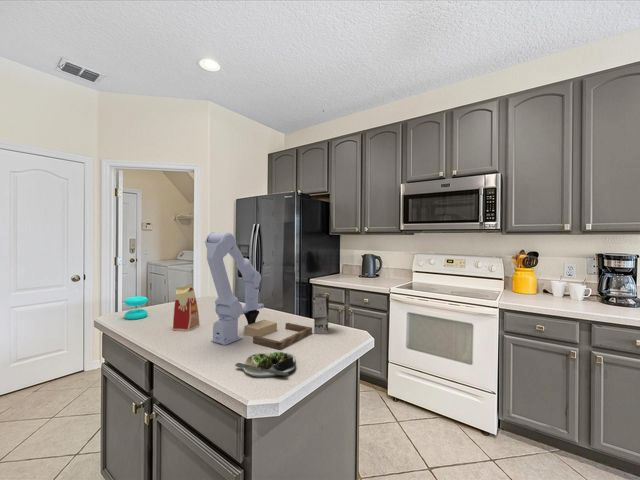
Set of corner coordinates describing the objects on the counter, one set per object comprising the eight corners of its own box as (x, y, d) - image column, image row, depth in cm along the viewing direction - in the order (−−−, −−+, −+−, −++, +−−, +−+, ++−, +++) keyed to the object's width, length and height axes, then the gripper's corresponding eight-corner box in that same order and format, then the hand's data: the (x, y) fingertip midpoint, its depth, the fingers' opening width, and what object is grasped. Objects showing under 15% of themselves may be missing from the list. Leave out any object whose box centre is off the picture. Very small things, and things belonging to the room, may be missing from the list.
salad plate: (230, 382, 88) (230, 366, 88) (240, 357, 105) (240, 344, 105) (295, 380, 90) (296, 365, 89) (295, 356, 107) (295, 343, 107)
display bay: (279, 350, 112) (279, 343, 112) (252, 342, 119) (252, 336, 119) (312, 333, 132) (312, 327, 132) (287, 328, 139) (287, 322, 139)
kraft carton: (257, 338, 125) (257, 329, 125) (244, 335, 129) (244, 325, 129) (276, 331, 135) (276, 322, 135) (263, 328, 139) (263, 319, 139)
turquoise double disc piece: (120, 298, 150) (141, 295, 158) (120, 318, 150) (141, 313, 158) (130, 300, 144) (151, 297, 153) (130, 321, 145) (151, 316, 153)
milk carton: (199, 325, 140) (200, 282, 140) (189, 331, 131) (189, 286, 131) (181, 324, 141) (181, 282, 141) (169, 330, 132) (170, 285, 132)
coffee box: (328, 334, 131) (329, 297, 131) (313, 333, 131) (314, 297, 131) (328, 327, 140) (328, 293, 140) (314, 327, 140) (315, 293, 140)
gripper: (256, 293, 143) (255, 321, 143) (233, 298, 130) (232, 329, 130) (267, 295, 139) (266, 324, 139) (245, 300, 127) (244, 332, 127)
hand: (251, 327), depth 135 cm, fingers closed
